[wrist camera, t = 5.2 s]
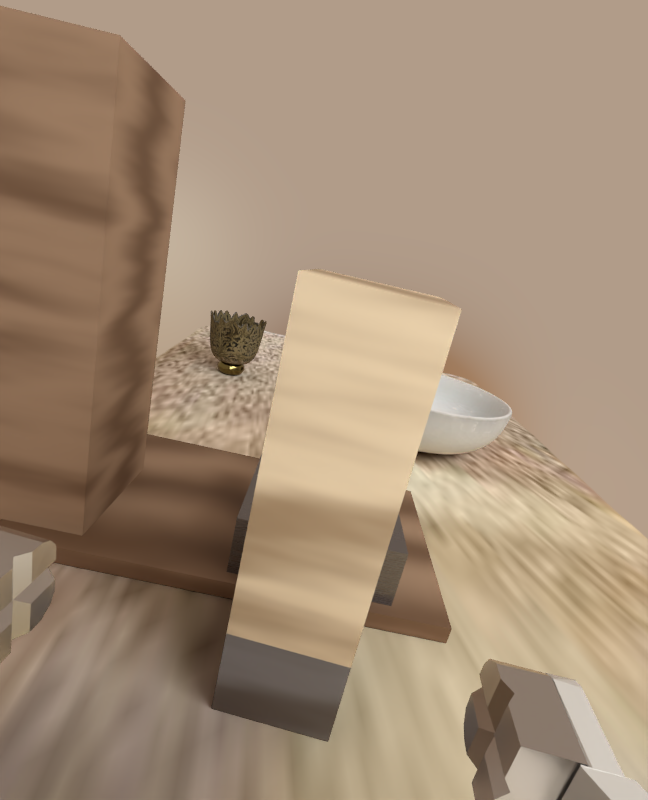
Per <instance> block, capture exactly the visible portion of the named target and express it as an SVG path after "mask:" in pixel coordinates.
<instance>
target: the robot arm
mask: <svg viewBox="0 0 648 800" xmlns="http://www.w3.org/2000/svg"><path fill="white" fill-rule="evenodd" d="M55 560H56V544H55V543H53V542H52V541H51V540H48V539H44V538H41V537H38V536H34V535H31V534H27V533H24V532H21V531H17V530H14V529H11V528H7V527H4V526H0V663H1V662H2V661H3V660H4V659H5V658H6V657H7V656H8V655H9V654H10V653H11V642H12V640H13V639H15V638H18V637H20V636H22V635H25V634H27V633H29V632H30V631H31V630H32V629H33V628H34V627H35V626H36V625H37V624H38V622H39V621H40V620H41V619H42V617H43V615H44V614H45V612H46V610H47V609H48V607H49V605H50V603H51V600H52V596H53V593H54V587H55V579H54V577H53V575H52V574H51V572H50V570H49V569H48V567H49V566H50V565H51V564H52V563H53V562H54V561H55ZM480 679H481V683H482V688H480V689H478V690H477V691H475V692H473V693H472V694H471V696H470V699H469V702H468V704H467V707H466V712H465V720H464V740H465V746H466V752H467V755H468V757H469V758H470V760H471V761H472V762H473V764H474V765H475V767H476V768H477V769H478V770H477V772H476V774H475V777H474V779H473V781H472V786H473V791H474V797H475V800H648V793H647V792H646V791H645V790H644V789H643V788H642V787H641V786H640V785H639V784H638V783H637V782H636V780H633V779H630V778H626V777H625V776H624V773H623V771H622V769H621V767H620V765H619V763H618V761H617V759H616V757H615V755H614V753H613V751H612V749H611V747H610V744H609V742H608V740H607V738H606V736H605V734H604V732H603V730H602V728H601V726H600V724H599V722H598V720H597V718H596V716H595V713H594V711H593V709H592V707H591V705H590V703H589V701H588V699H587V697H586V695H585V693H584V691H583V689H582V687H581V686H580V685H579V684H578V683H577V682H576V681H575V680H572V679H568V678H564V677H560V676H556V675H552V674H548V673H545V674H544V673H542V672H539V671H535V670H531V669H527V668H523V667H519V666H516V665H512V664H508V663H504V662H500V661H496V660H493V659H489V660H488V661H487V662H486V663H485V664H484V666H483V668H482V670H481V673H480Z"/></svg>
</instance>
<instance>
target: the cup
mask: <svg viewBox="0 0 648 800" xmlns="http://www.w3.org/2000/svg"><path fill="white" fill-rule="evenodd" d="M254 319H255V318H254V317H251V319H250V318H249V315H248V314H244V315H241V316H240V317H238V314H237V312H235V313H234V314H233V316H232V318H231V316H230V314H229V312H228V311H225V313H223V312H222V310H221V311H219V313H218V315H217V312H216V311H214V314H213V312H212V311H211V327H210V345H211V350H212V353H213V354H214V356H215V357H216V358H217V359H218V360H220V361H219V362H218V364H217V366H218V369H219V371H221V372H222V373H225V374H228V375H239V374H241V373H242V372H243V371H244V365H243V364H247V363H249V362H250V361H252V360H253V359H254V357H255V356H256V353H257V351H258V349H259V346H260V342H261V339H262V336H263V333H264V329H265V326H266V322H264V321H263V320H261V321H260V323H259V325H258V323H255V322H254Z"/></svg>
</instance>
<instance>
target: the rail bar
mask: <svg viewBox="0 0 648 800" xmlns="http://www.w3.org/2000/svg"><path fill="white" fill-rule="evenodd" d="M461 310H462V309H460V308H458V307H457V306H455V305H453V304H451V303H450V302H448V301H446V300H444V299H443V298H441V297H436V296H432V295H428V294H423V293H419V292H415V291H411V290H407V289H402V288H398V287H394V286H389V285H385V284H381V283H377V282H373V281H368V280H364V279H359V278H356V277H351V276H347V275H343V274H339V273H334V272H330V271H326V270H322V269H313V270H301V271H298V276H297V281H296V286H295V291H294V296H293V301H292V306H291V311H290V316H289V321H288V326H287V331H286V336H285V341H284V346H283V351H282V356H281V361H280V366H279V371H278V376H277V381H276V386H275V391H274V396H273V401H272V406H271V412H270V417H269V422H268V427H267V432H266V437H265V442H264V447H263V452H262V457H261V462H260V467H259V472H258V477H257V482H256V487H255V492H254V497H253V502H252V507H251V512H250V517H249V522H248V527H247V532H246V537H245V542H244V547H243V553H242V558H241V563H240V568H239V573H238V578H237V583H236V588H235V593H234V598H233V603H232V608H231V613H230V618H229V623H228V628H227V633H226V638H225V643H224V648H223V653H222V658H221V663H220V668H219V673H218V678H217V683H216V689H215V694H214V699H213V704H212V709H215V710H219V711H222V712H226V713H229V714H233V715H236V716H240V717H243V718H247V719H250V720H254V721H257V722H261V723H264V724H268V725H271V726H275V727H278V728H282V729H285V730H289V731H292V732H296V733H299V734H303V735H306V736H310V737H313V738H317V739H320V740H324V741H327V742H328V740H329V737H330V734H331V730H332V727H333V724H334V721H335V718H336V714H337V711H338V708H339V705H340V701H341V698H342V695H343V692H344V688H345V685H346V682H347V679H348V676H349V672H350V669H351V666H352V663H353V659H354V656H355V653H356V650H357V646H358V643H359V640H360V637H361V634H362V630H363V627H364V624H365V621H366V617H367V614H368V611H369V608H370V604H371V601H372V598H373V595H374V592H375V588H376V585H377V582H378V579H379V575H380V572H381V569H382V566H383V562H384V559H385V556H386V553H387V550H388V546H389V543H390V540H391V537H392V533H393V530H394V527H395V524H396V520H397V517H398V514H399V511H400V508H401V504H402V501H403V498H404V495H405V491H406V488H407V485H408V482H409V478H410V475H411V472H412V469H413V466H414V462H415V459H416V456H417V453H418V449H419V446H420V443H421V440H422V436H423V433H424V430H425V427H426V423H427V420H428V417H429V414H430V411H431V407H432V404H433V401H434V398H435V394H436V391H437V388H438V385H439V381H440V378H441V375H442V371H443V369H444V365H445V362H446V359H447V356H448V352H449V349H450V346H451V343H452V339H453V336H454V333H455V330H456V327H457V323H458V320H459V316H460V314H461Z"/></svg>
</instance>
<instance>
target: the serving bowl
mask: <svg viewBox="0 0 648 800" xmlns="http://www.w3.org/2000/svg"><path fill="white" fill-rule="evenodd" d="M511 415H512V410H511V408H510V407H509V405H508V404H506V403H505V402H504V401H502V400H501V399H499V398H498V397H496V396H494V395H493V394H491V393H489V392H486V391H485V390H483V389H480V388H478V387H476V386H473V385H471V384H468V383H466V382H463V381H460V380H457V379H454V378H451V377H448V376H445V375H441V378H440V381H439V385H438V388H437V391H436V394H435V398H434V401H433V404H432V407H431V411H430V414H429V417H428V420H427V423H426V427H425V430H424V433H423V436H422V440H421V443H420V446H419V449H418V452H427V453H434V454H463V453H469V452H473V451H476V450H478V449H481V448H483V447H485V446H486V445H488V444H489V443H491V442H492V441H494V440H495V439H496V438H497V437H498V436H499V435H500V433H501V432H502V431H503V429H504V428H505V426H506V425H507V423H508V421H509V419H510V417H511Z"/></svg>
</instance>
